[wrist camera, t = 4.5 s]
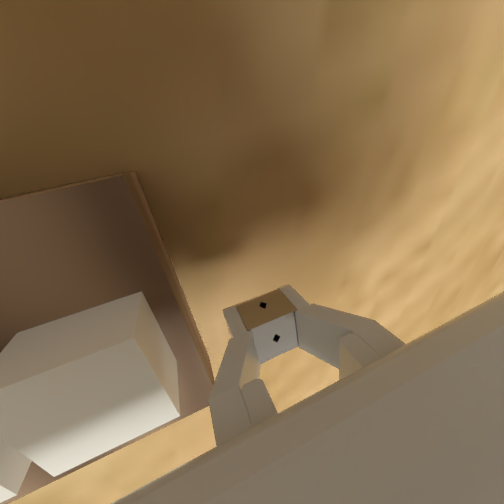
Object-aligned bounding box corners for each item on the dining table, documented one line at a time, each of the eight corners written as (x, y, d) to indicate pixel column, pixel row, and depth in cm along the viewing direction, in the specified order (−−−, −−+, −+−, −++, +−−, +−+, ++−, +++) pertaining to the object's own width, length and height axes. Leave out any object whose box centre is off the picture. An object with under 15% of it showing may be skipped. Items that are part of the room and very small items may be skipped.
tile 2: (141, 290, 8) (134, 337, 6) (176, 360, 10) (180, 416, 8) (17, 333, 7) (-44, 405, 5) (80, 401, 9) (53, 477, 7)
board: (134, 170, 9) (123, 175, 7) (209, 357, 15) (218, 400, 12) (-345, 270, 6) (-705, 351, 4) (-30, 461, 12) (-85, 548, 9)
